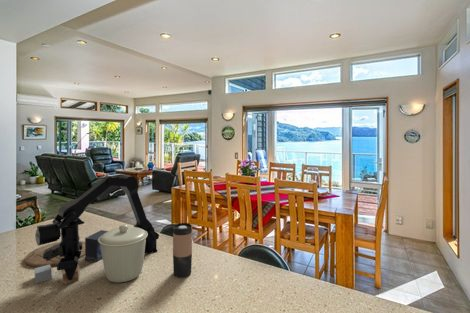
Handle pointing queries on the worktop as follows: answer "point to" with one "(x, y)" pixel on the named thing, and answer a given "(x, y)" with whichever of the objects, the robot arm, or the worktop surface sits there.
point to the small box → (93, 247)
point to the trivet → (37, 259)
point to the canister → (123, 252)
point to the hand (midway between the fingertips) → (71, 275)
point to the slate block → (43, 273)
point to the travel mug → (182, 249)
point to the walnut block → (75, 277)
